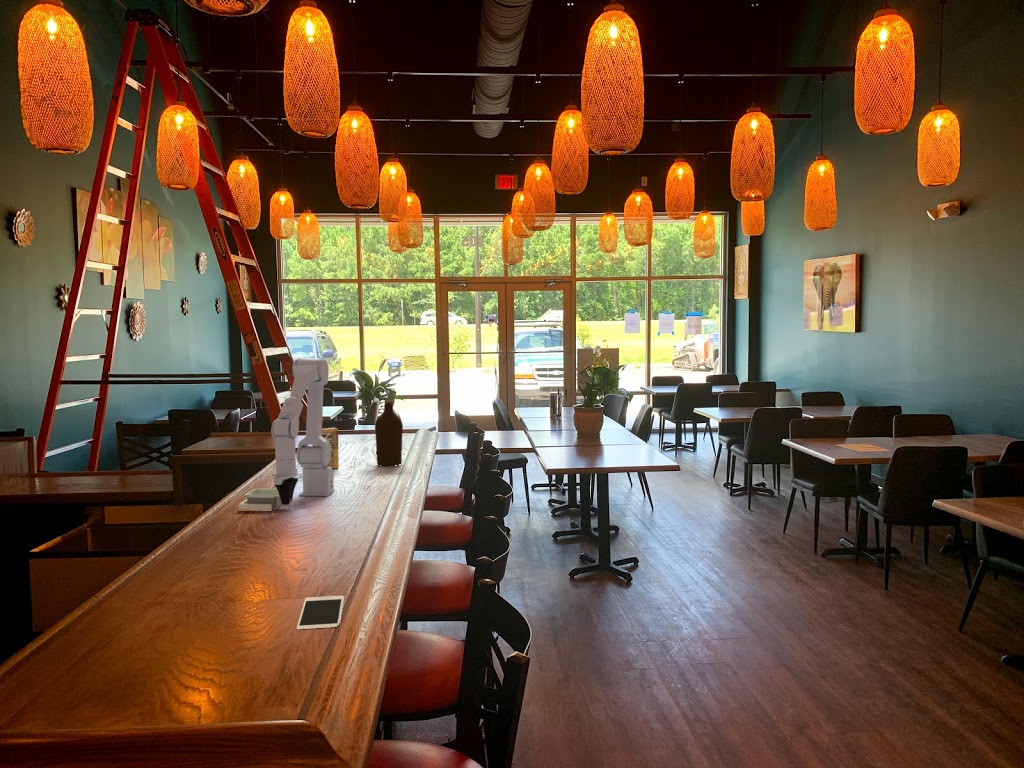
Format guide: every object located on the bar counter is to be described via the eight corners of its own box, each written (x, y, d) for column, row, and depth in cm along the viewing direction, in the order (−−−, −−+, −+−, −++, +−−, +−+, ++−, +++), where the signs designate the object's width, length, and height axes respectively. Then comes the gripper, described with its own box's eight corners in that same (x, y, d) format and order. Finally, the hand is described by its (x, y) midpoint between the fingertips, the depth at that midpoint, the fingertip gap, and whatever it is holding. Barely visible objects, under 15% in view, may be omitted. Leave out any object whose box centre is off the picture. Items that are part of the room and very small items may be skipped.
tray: (291, 496, 245) (290, 488, 244) (281, 503, 236) (281, 495, 236) (255, 496, 245) (254, 488, 245) (244, 502, 237) (244, 494, 236)
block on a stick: (293, 507, 232) (292, 494, 231) (287, 511, 227) (287, 497, 226) (254, 506, 232) (253, 493, 232) (247, 510, 227) (247, 497, 227)
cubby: (280, 505, 233) (280, 498, 233) (271, 512, 225) (270, 504, 225) (249, 504, 234) (249, 497, 234) (238, 511, 226) (238, 504, 226)
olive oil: (407, 463, 301) (407, 400, 299) (394, 468, 291) (394, 402, 289) (384, 461, 305) (383, 399, 303) (370, 466, 295) (369, 401, 293)
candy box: (334, 466, 294) (333, 427, 292) (339, 468, 290) (338, 428, 289) (312, 469, 288) (311, 429, 287) (317, 471, 285) (316, 430, 283)
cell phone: (344, 598, 157) (344, 595, 157) (339, 629, 142) (339, 626, 142) (305, 600, 156) (305, 597, 156) (296, 632, 140) (296, 629, 140)
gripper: (281, 454, 235) (282, 497, 236) (263, 463, 221) (264, 509, 222) (303, 454, 235) (304, 497, 236) (287, 463, 220) (288, 509, 222)
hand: (286, 503), depth 229 cm, fingers closed on block on a stick
